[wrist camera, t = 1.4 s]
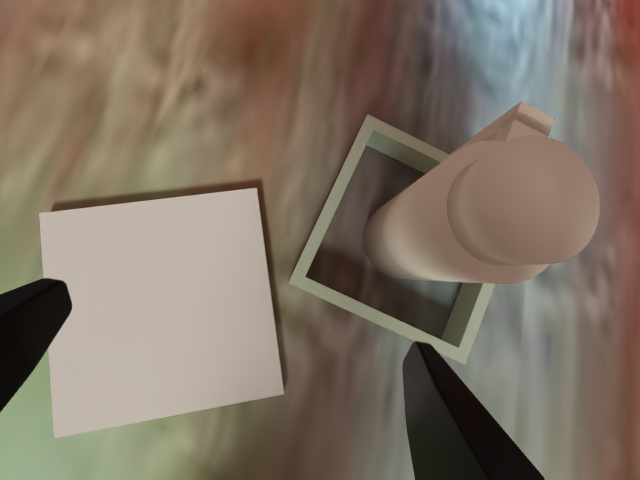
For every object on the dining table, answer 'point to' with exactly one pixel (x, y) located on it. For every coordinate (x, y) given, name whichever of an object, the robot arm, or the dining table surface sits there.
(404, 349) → the dining table surface
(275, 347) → the plate
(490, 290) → the holder
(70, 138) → the dining table surface
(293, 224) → the dining table surface
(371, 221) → the pink plastic bottle
